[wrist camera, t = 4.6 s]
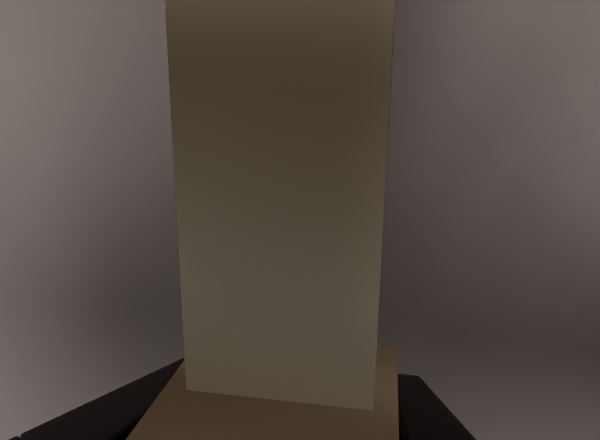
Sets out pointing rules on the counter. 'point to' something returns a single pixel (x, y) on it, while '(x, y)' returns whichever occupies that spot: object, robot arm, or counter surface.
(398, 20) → the counter surface
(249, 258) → the beige long block
